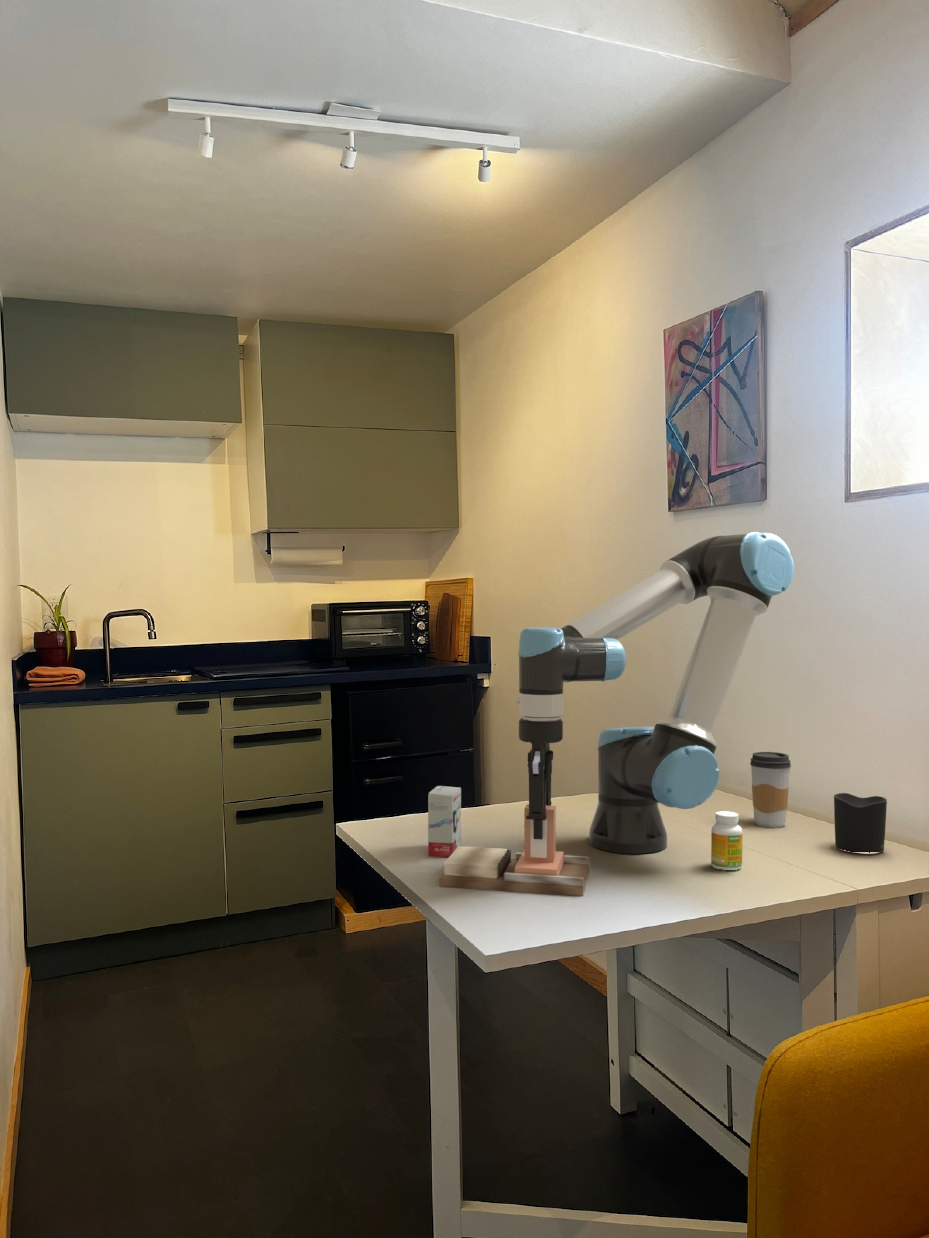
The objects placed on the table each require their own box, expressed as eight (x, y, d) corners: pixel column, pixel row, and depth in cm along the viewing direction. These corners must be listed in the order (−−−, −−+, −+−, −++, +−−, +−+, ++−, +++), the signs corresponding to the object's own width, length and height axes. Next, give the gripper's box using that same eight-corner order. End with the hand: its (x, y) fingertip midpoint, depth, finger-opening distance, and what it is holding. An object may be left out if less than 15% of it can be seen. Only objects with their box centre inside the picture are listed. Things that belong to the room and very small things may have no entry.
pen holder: (859, 857, 174) (860, 804, 174) (822, 845, 183) (823, 794, 183) (897, 852, 178) (898, 800, 178) (859, 840, 186) (860, 791, 186)
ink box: (452, 858, 173) (452, 795, 173) (426, 856, 174) (427, 794, 174) (461, 846, 182) (461, 786, 181) (437, 844, 183) (437, 784, 182)
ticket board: (589, 871, 165) (589, 850, 165) (582, 895, 152) (582, 873, 152) (457, 862, 170) (457, 842, 170) (439, 886, 157) (439, 864, 157)
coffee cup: (794, 822, 201) (795, 753, 201) (785, 831, 194) (785, 759, 194) (755, 817, 205) (756, 750, 205) (744, 825, 198) (745, 755, 198)
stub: (563, 862, 165) (563, 801, 164) (556, 881, 154) (557, 815, 154) (524, 860, 166) (524, 799, 166) (514, 878, 155) (515, 813, 155)
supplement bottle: (729, 873, 164) (729, 818, 164) (704, 865, 169) (705, 812, 169) (748, 867, 168) (748, 814, 167) (723, 861, 172) (724, 808, 172)
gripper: (526, 711, 168) (525, 840, 169) (511, 723, 152) (510, 865, 153) (567, 712, 166) (566, 843, 167) (557, 724, 151) (556, 868, 151)
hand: (540, 853), depth 160 cm, fingers closed on stub, 3 cm apart
